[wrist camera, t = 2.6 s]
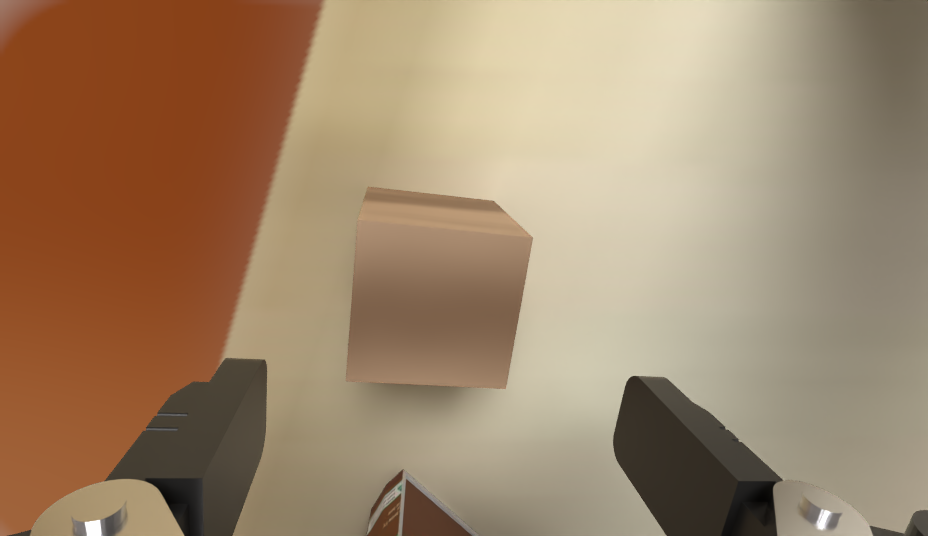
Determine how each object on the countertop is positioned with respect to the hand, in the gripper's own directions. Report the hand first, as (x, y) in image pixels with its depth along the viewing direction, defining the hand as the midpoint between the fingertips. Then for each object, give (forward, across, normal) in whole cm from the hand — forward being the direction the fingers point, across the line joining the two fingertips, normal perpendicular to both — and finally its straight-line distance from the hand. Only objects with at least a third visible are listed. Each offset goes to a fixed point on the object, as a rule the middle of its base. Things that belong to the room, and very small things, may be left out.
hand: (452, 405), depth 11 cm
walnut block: (+10, 0, -1) cm, 10 cm away
